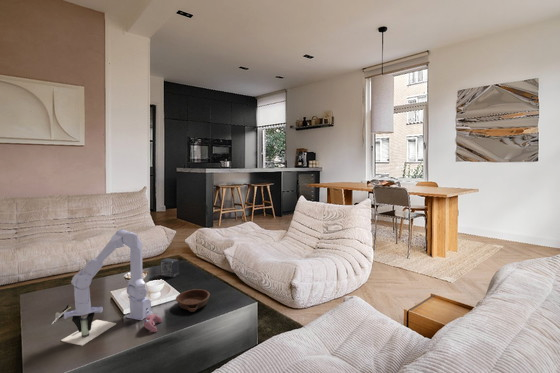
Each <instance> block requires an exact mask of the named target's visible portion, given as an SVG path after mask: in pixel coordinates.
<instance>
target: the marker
mask: <svg viewBox="0 0 560 373" xmlns="http://www.w3.org/2000/svg"><path fill="white" fill-rule="evenodd" d="M80 323H81V335H82V337H87V336H89V335H90V333H89V331H88V320H87V316H83V317H82V316H81V319H80Z"/></svg>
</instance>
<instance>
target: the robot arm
mask: <svg viewBox="0 0 560 373" xmlns="http://www.w3.org/2000/svg"><path fill="white" fill-rule="evenodd" d="M125 246H126V247H127V248H129V255H130V257H129V258H130V260H129V261H130V264H129V266H130V279H129V280H128V283H127V287H126V293H127V295H129V299H128V300H129V312H130V313H129V314H128V315H126V318H128V319H133V320H139V321H143V320H144V319H146V317H147V316H148V315H150V314H152V313H153V314H154V312H153V311H152V302H151V300H150V299H149V298H147V297H146V296H148V289H147V286H146V282H145V281H144V279H143V243H142V241H141V240H140V238H139V237H138V234H137V233H135V232H133V231H129V230H126V229H123V228H122V229H119V230H117V231H116V232H115V234H114V235H113V234H112V236H111V238H110V240H109V242H108V243H106V245H105V246H104V247H103V249H102V250H100V252H99V254H98V255H97V256H96V257H94V258H91V259H90V260H87V261H86V265H85V266H83V268H82V269H81V270H79V271H78V273H76V274H74V275H73V276H72V280H71V281H70V282H71V285H72V286H73V290H74V291H73V292H74V293H73V295H74V304H75V305H74V307H75V309H74V310H71V311H66V312H65V313H64V316H63V319H64V320H65V319H68V318H71V322H73V323H74V325H75V326H76V328H77V331H78V330H79V332H81V323H80V319H81V318H82V316H84V315H87V316H86V317H87V320H88V331H90V330H91V325H92V322H93V321H94V317H95V314H97V313H103V311H104V308H103V306H92V304H91V303H92V302H91V291H90V285H91V283H92V280H93V278H94V277H95V276H96V275H97V273H98V272H99V271H100V270H101V269H102V268H103V266H104V264H103V263H104V261H106V260H107V258H108V257H109V256H110V255H112V253H113V252H114V251H115V250H116V249H120V248H123V247H125Z"/></svg>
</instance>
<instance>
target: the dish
mask: <svg viewBox="0 0 560 373" xmlns="http://www.w3.org/2000/svg"><path fill="white" fill-rule="evenodd" d="M210 295H211V294H210V292H209V291H207V290H206V289H201V288H200V289H198V288H193V289H188V290H186V291H183V292H180V293H179V294H178V295H177V296H176V298H175V301H176V302H177V303H178V306H179V307H180V308H181V309H183V310H186V311H188V312H190V313H193V312H196V311H197V310H198V309H201V308H203V307H205V305H207V303H208V301H209V298H210Z"/></svg>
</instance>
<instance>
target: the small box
mask: <svg viewBox="0 0 560 373" xmlns="http://www.w3.org/2000/svg"><path fill="white" fill-rule="evenodd" d="M179 261H180V260H179V259H174V258H168V257H167V258H164V259H161V260H160V261H159V262H160V275H161V277H165V278H166V277H167V278H172V279H173V278H175V277H179V276H180V262H179Z"/></svg>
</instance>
